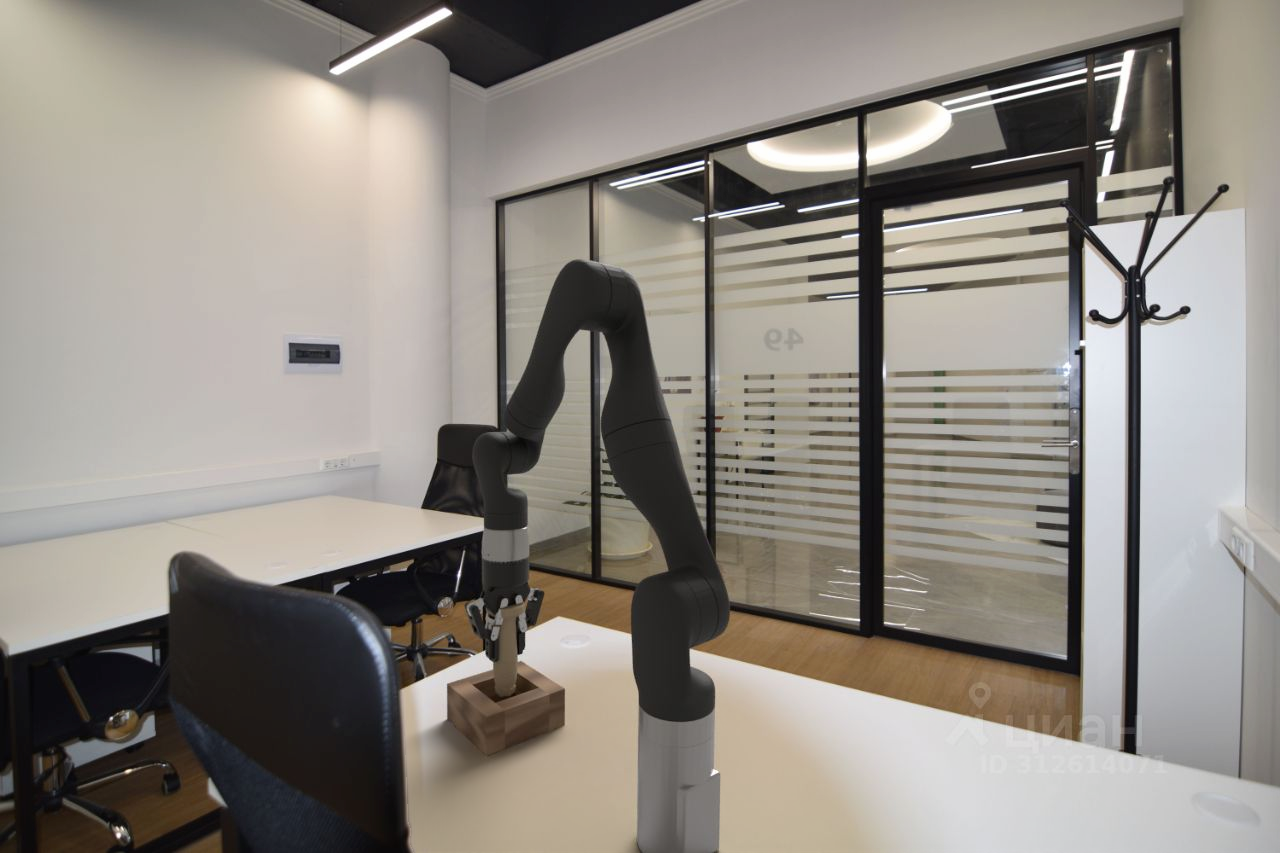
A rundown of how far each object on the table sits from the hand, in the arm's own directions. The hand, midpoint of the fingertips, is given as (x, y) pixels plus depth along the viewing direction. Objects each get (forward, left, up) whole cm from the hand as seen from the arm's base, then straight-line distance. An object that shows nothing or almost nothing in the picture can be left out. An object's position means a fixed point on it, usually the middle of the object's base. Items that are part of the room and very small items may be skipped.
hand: (505, 656), depth 103 cm
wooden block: (0, 0, -11) cm, 11 cm away
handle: (0, 0, -6) cm, 6 cm away
